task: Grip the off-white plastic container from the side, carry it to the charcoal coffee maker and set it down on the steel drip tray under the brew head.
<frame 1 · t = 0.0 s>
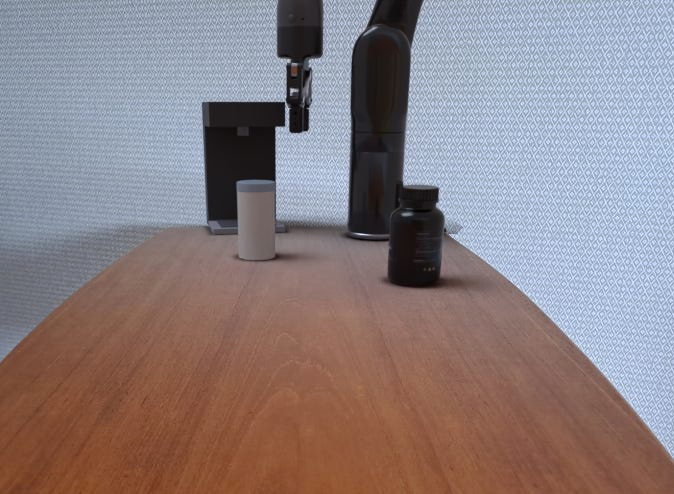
hand: (299, 132, 114), 17 cm above the table, tool pointing down, fingers open, 8 cm apart
coffee maker: (245, 227, 126), on the table
supplement bottle: (413, 282, 88), on the table
container: (256, 256, 102), on the table
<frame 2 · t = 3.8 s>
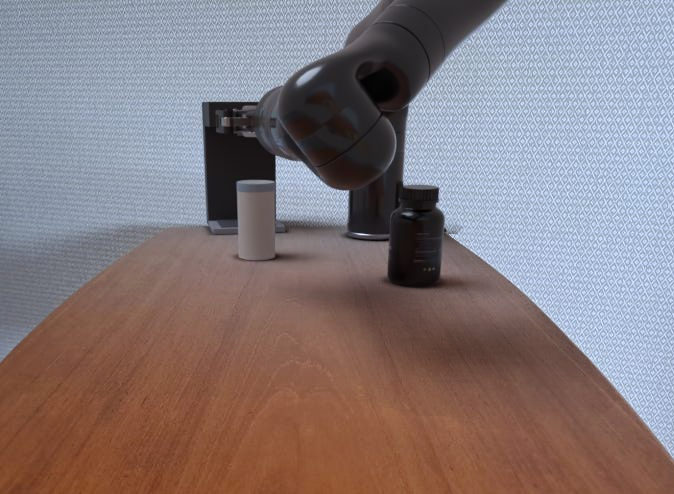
hand: (268, 120, 85), 20 cm above the table, tool horizontal, fingers open, 8 cm apart
nothing on the table moved.
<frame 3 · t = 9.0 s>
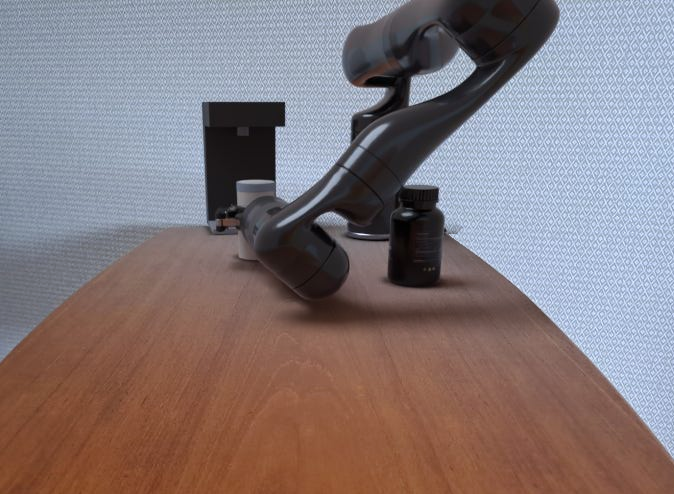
hand: (253, 210, 102), 7 cm above the table, tool horizontal, fingers closed on container, 5 cm apart
container: (257, 256, 102), on the table, touching gripper
everything else where it was.
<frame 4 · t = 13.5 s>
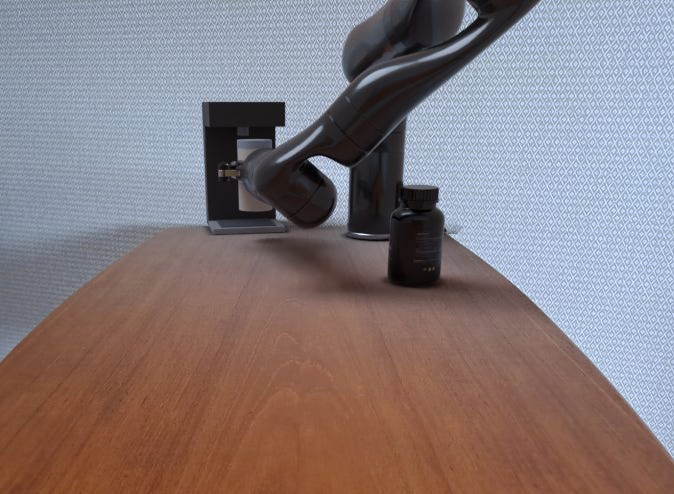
hand: (252, 167, 113), 12 cm above the table, tool horizontal, fingers closed on container, 5 cm apart
container: (255, 209, 113), point 5 cm above the table, touching gripper
everything else where it was.
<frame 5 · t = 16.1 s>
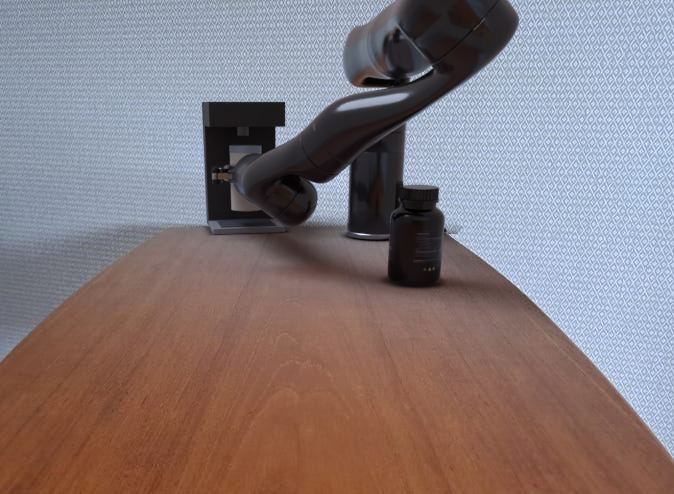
hand: (244, 170, 122), 10 cm above the table, tool horizontal, fingers closed on container, 5 cm apart
container: (246, 209, 122), point 4 cm above the table, touching gripper
everything else where it was.
when the fingers open (8 cm above the table, at t = 18.2 s): container stays where it is, resting on coffee maker.
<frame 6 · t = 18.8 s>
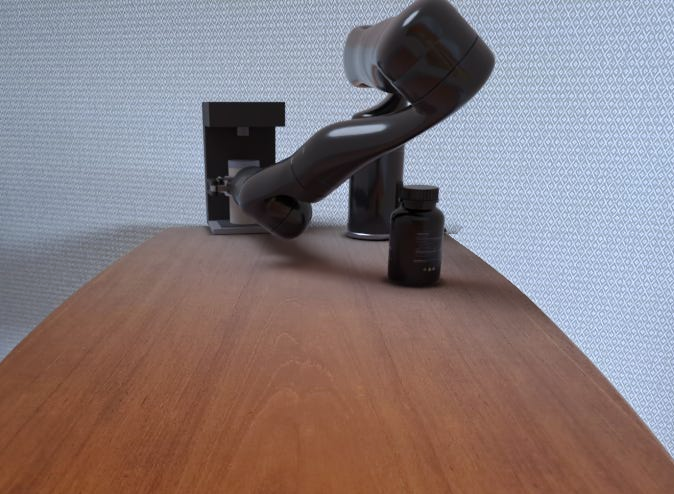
hand: (243, 181, 125), 8 cm above the table, tool horizontal, fingers open, 8 cm apart
container: (245, 222, 126), point 1 cm above the table, touching coffee maker
everything else where it was.
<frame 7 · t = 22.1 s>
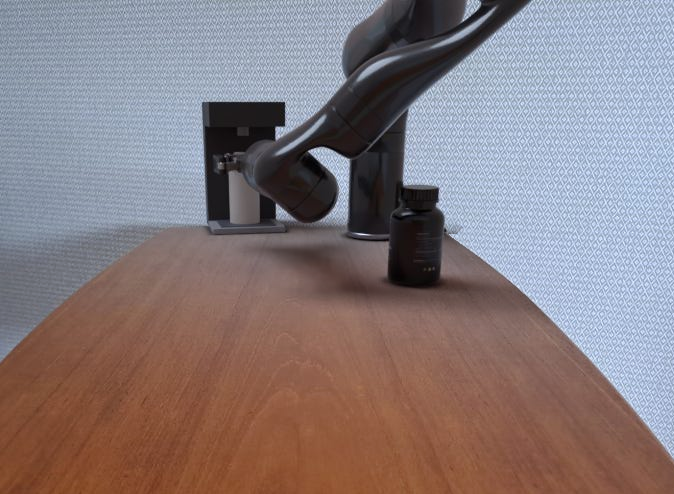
hand: (254, 159, 111), 13 cm above the table, tool horizontal, fingers open, 8 cm apart
nothing on the table moved.
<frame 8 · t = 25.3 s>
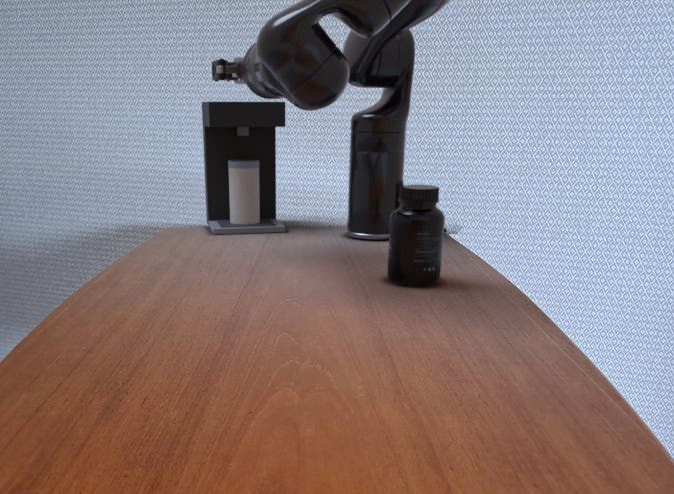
hand: (255, 73, 103), 26 cm above the table, tool horizontal, fingers open, 8 cm apart
nothing on the table moved.
at the end: container inside the target area on the coffee maker (0.5 cm from its centre), point 1.1 cm above the coffee maker's base; container tilted 0°; the gripper is holding nothing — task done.
